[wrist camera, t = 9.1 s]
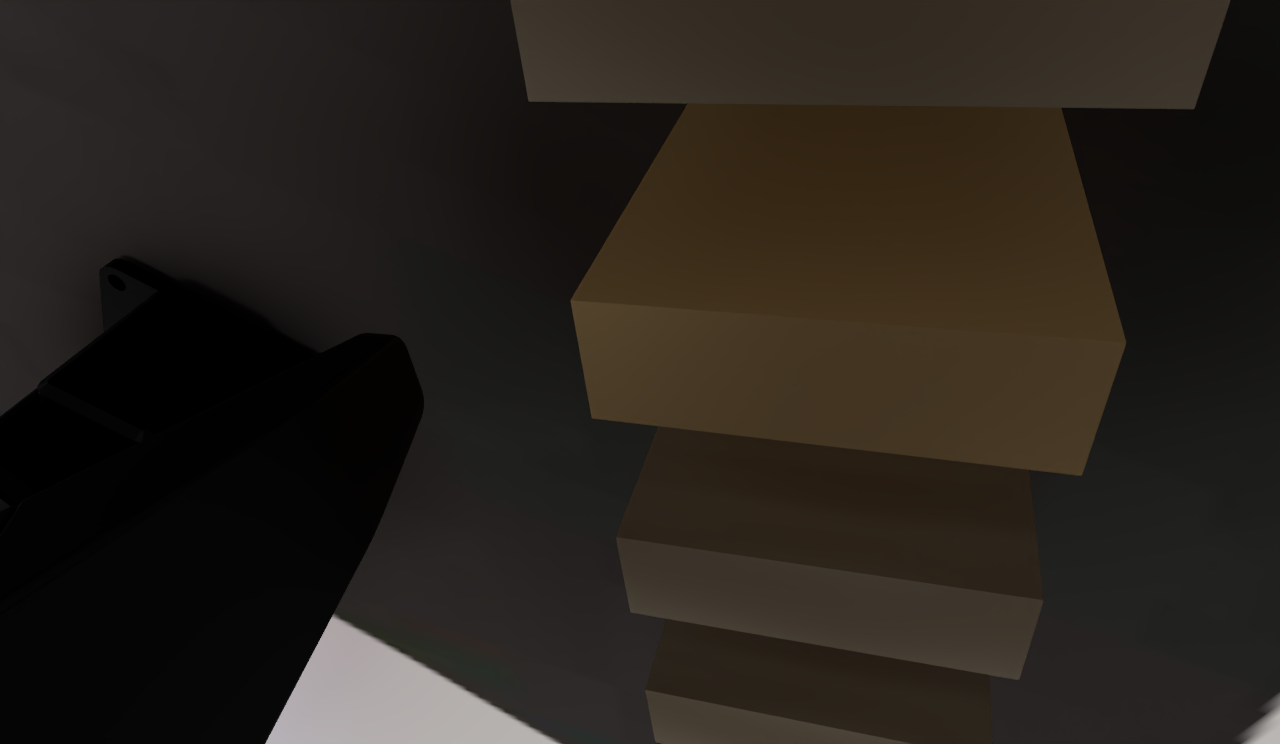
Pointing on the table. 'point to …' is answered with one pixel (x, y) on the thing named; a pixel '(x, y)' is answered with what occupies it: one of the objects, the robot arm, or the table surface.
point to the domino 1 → (870, 52)
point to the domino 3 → (836, 548)
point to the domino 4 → (805, 693)
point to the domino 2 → (859, 285)
